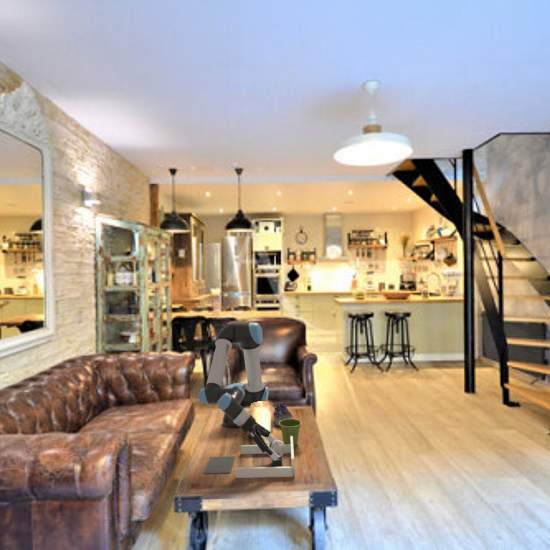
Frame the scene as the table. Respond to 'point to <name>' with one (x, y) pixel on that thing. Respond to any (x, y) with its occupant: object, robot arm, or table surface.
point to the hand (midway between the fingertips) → (277, 452)
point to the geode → (281, 413)
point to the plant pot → (290, 430)
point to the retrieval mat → (219, 465)
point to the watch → (279, 461)
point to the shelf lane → (267, 471)
